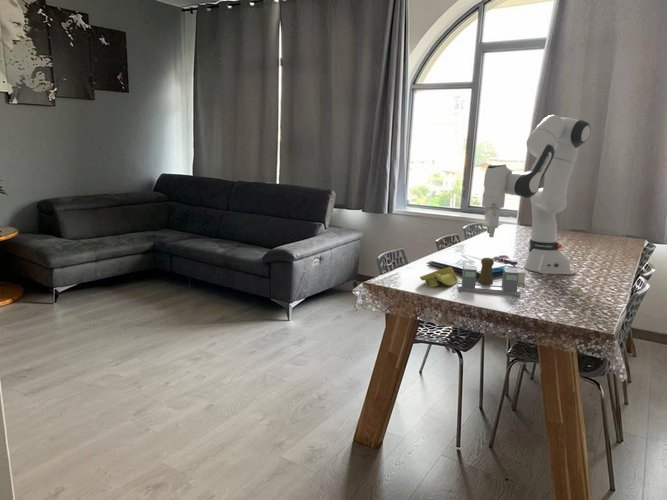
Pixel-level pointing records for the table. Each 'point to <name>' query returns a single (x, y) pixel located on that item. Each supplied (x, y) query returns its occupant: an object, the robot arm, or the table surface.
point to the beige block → (521, 276)
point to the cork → (486, 271)
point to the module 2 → (510, 280)
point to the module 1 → (469, 276)
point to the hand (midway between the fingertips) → (490, 235)
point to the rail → (488, 289)
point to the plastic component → (441, 277)
